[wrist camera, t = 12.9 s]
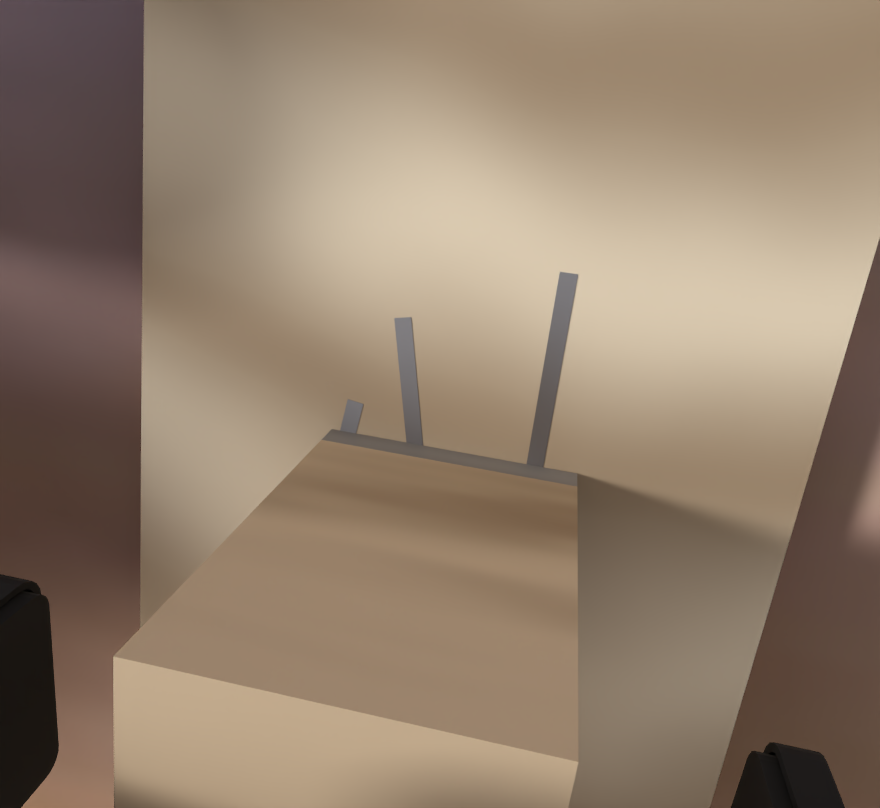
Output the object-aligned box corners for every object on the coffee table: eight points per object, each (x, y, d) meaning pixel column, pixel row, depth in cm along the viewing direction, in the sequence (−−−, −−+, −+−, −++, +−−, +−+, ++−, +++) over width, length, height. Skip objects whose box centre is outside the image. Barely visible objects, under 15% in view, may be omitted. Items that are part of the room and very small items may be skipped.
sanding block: (331, 428, 14) (112, 656, 7) (577, 473, 13) (577, 761, 7) (304, 738, 16) (116, 1129, 10) (515, 788, 16) (470, 1239, 9)
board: (184, -212, 13) (145, -250, 11) (963, -153, 11) (1007, -192, 10) (166, 697, 18) (139, 732, 17) (685, 817, 17) (692, 864, 15)
